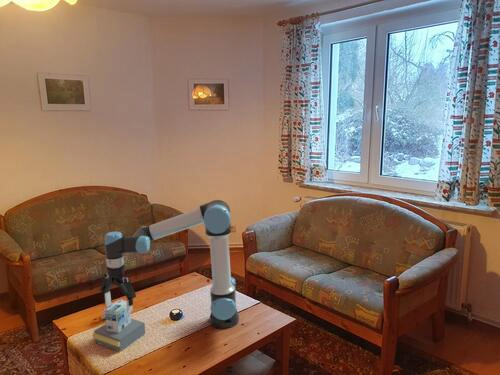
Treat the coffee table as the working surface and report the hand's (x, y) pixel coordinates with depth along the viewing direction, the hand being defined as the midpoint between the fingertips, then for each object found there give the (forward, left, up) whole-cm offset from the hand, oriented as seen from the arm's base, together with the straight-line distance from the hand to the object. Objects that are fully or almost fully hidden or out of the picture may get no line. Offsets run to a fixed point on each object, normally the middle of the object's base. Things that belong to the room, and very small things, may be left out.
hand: (119, 308), depth 177 cm
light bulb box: (+1, 0, -9) cm, 9 cm away
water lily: (+18, -13, -16) cm, 27 cm away
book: (0, 0, -15) cm, 15 cm away
